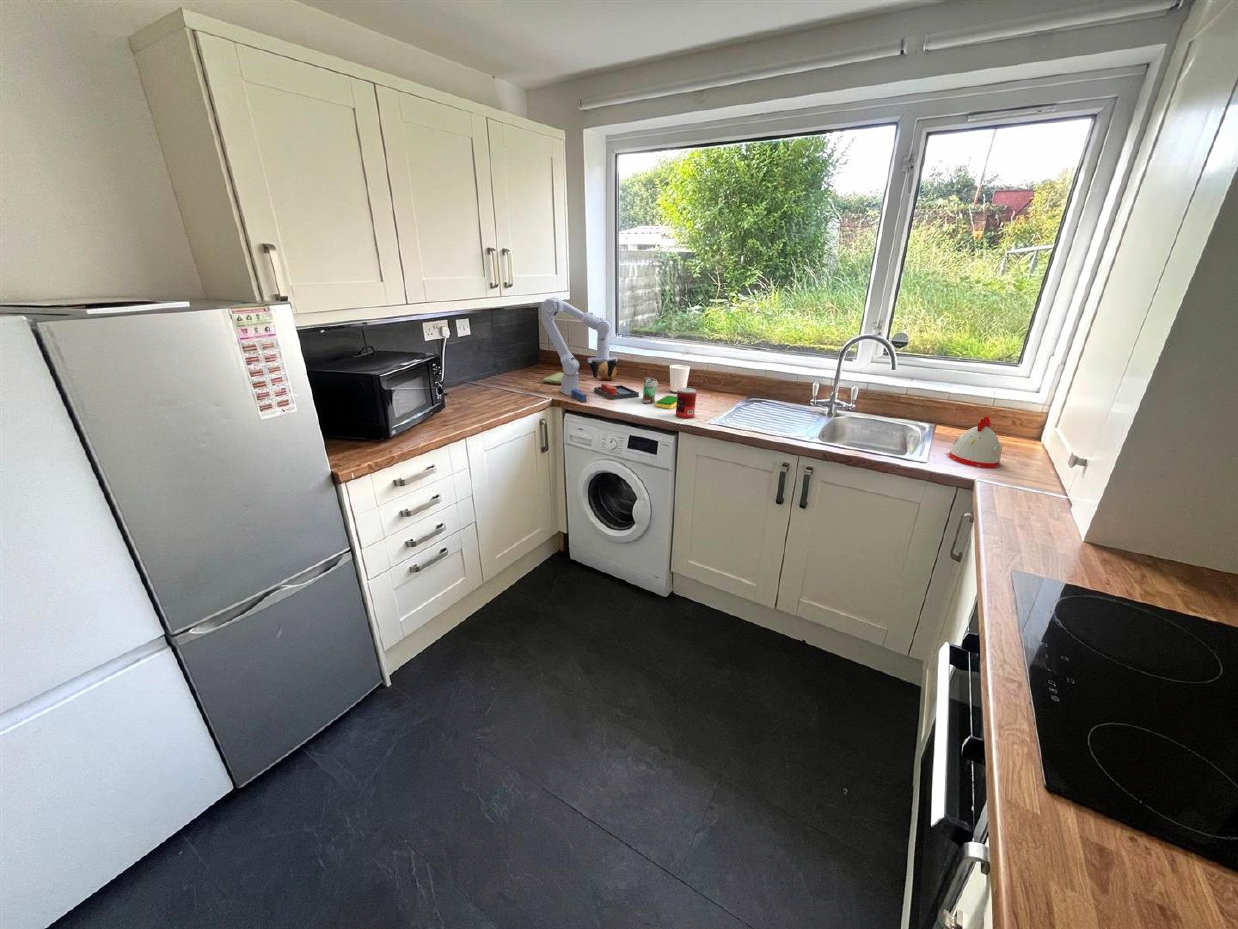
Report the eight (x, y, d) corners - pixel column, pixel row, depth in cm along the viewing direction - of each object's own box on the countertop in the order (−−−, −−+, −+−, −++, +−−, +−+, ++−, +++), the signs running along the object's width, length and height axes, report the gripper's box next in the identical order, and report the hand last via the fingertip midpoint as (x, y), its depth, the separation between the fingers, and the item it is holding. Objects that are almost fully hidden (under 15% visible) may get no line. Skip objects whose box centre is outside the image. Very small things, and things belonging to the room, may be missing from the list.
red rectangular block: (609, 396, 231) (610, 388, 230) (598, 390, 240) (599, 383, 239) (618, 395, 233) (618, 388, 232) (607, 390, 242) (607, 383, 241)
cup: (691, 391, 248) (693, 366, 244) (682, 395, 241) (684, 369, 236) (673, 388, 253) (675, 363, 249) (664, 392, 245) (666, 366, 241)
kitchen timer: (941, 457, 169) (953, 414, 163) (959, 450, 176) (972, 409, 171) (988, 470, 158) (1003, 425, 153) (1005, 462, 166) (1020, 419, 160)
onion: (596, 381, 265) (596, 362, 261) (600, 377, 274) (600, 359, 270) (614, 382, 263) (614, 363, 260) (617, 378, 273) (618, 360, 269)
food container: (657, 405, 222) (658, 382, 218) (643, 404, 222) (644, 382, 218) (656, 398, 233) (657, 377, 230) (642, 397, 233) (644, 376, 230)
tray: (610, 399, 228) (610, 395, 227) (594, 391, 242) (594, 387, 241) (638, 396, 235) (639, 392, 234) (621, 389, 249) (621, 385, 248)
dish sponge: (655, 406, 219) (656, 401, 218) (666, 400, 230) (667, 395, 230) (670, 409, 216) (671, 403, 215) (681, 402, 228) (681, 397, 227)
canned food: (695, 414, 209) (698, 388, 205) (692, 419, 202) (694, 392, 198) (677, 412, 211) (679, 386, 207) (673, 417, 204) (675, 390, 200)
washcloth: (541, 383, 256) (541, 376, 255) (559, 377, 271) (559, 371, 270) (563, 386, 251) (563, 380, 250) (580, 380, 266) (580, 374, 264)
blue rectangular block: (578, 395, 233) (578, 388, 232) (588, 401, 224) (588, 394, 222) (569, 396, 231) (569, 389, 230) (579, 402, 222) (579, 395, 220)
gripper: (592, 349, 222) (592, 380, 227) (621, 348, 229) (620, 377, 234) (586, 347, 228) (585, 377, 233) (613, 346, 234) (612, 375, 239)
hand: (602, 377), depth 234 cm, fingers open, 7 cm apart
